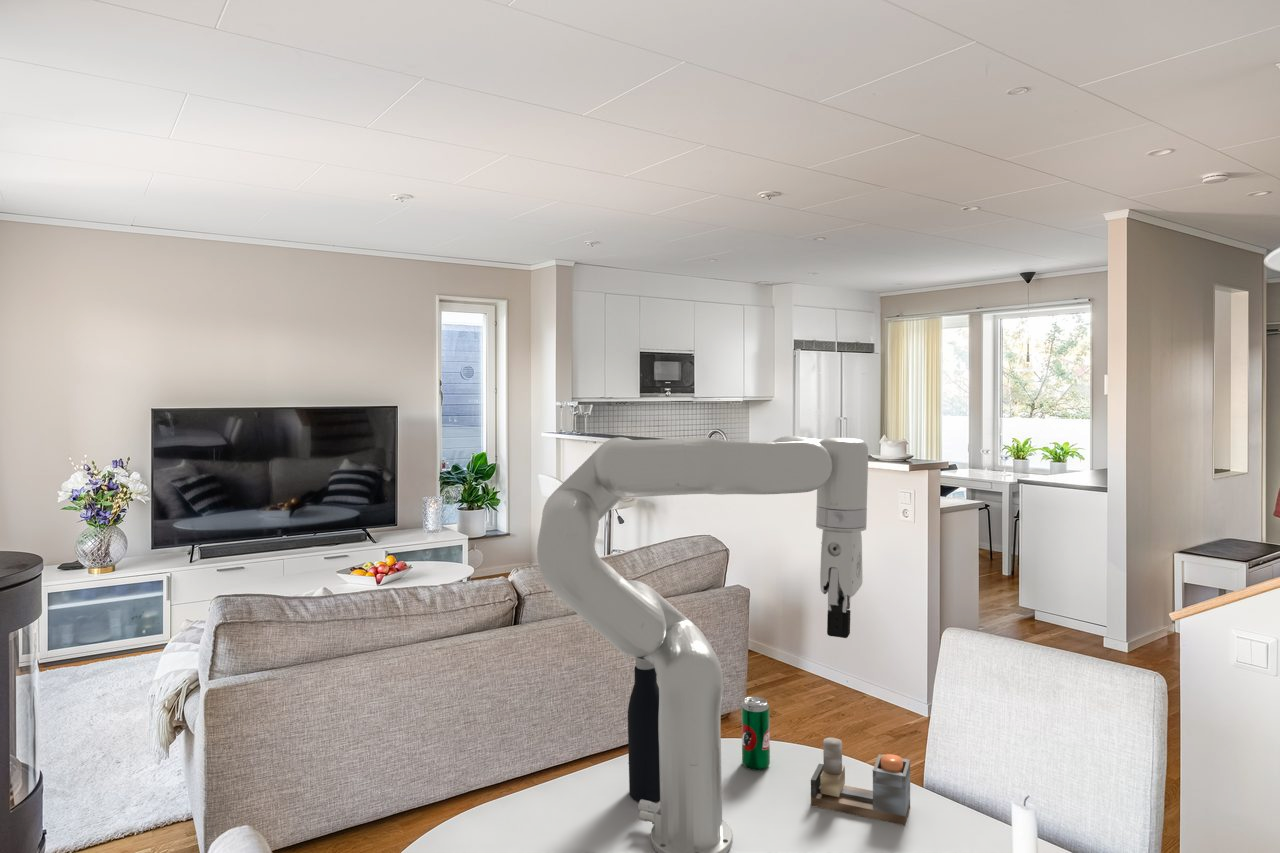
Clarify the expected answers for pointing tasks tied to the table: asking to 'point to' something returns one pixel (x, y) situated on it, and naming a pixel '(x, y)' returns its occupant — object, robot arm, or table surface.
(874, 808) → the stand
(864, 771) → the table surface
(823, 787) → the carriage
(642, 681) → the wine bottle
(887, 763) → the button
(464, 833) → the table surface
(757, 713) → the soda can
